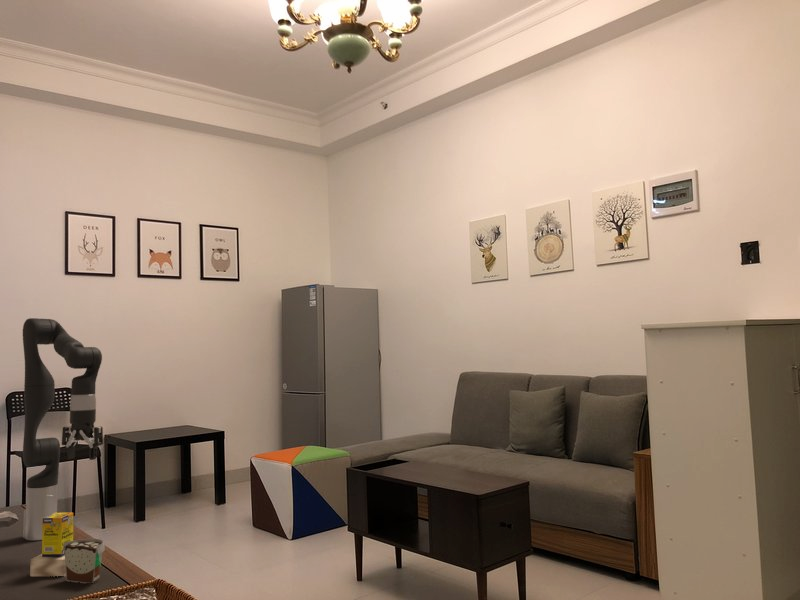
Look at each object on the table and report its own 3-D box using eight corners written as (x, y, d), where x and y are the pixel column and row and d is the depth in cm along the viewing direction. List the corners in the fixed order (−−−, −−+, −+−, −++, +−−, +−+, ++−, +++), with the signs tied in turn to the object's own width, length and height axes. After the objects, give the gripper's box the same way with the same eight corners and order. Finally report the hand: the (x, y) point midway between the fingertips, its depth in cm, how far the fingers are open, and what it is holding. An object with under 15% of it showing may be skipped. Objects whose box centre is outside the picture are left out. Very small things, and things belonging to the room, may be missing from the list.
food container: (114, 577, 174) (115, 539, 175) (97, 584, 168) (98, 546, 169) (80, 573, 178) (80, 536, 179) (61, 580, 172) (62, 542, 173)
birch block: (30, 577, 176) (30, 559, 177) (52, 565, 186) (53, 548, 187) (64, 578, 176) (64, 559, 176) (85, 566, 186) (85, 548, 186)
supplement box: (61, 557, 178) (61, 517, 179) (41, 557, 178) (41, 517, 179) (74, 550, 184) (74, 511, 185) (54, 550, 184) (54, 512, 185)
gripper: (109, 407, 207) (108, 458, 205) (74, 407, 211) (73, 456, 209) (92, 409, 200) (91, 461, 198) (56, 409, 204) (54, 460, 202)
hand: (81, 459), depth 204 cm, fingers open, 8 cm apart
